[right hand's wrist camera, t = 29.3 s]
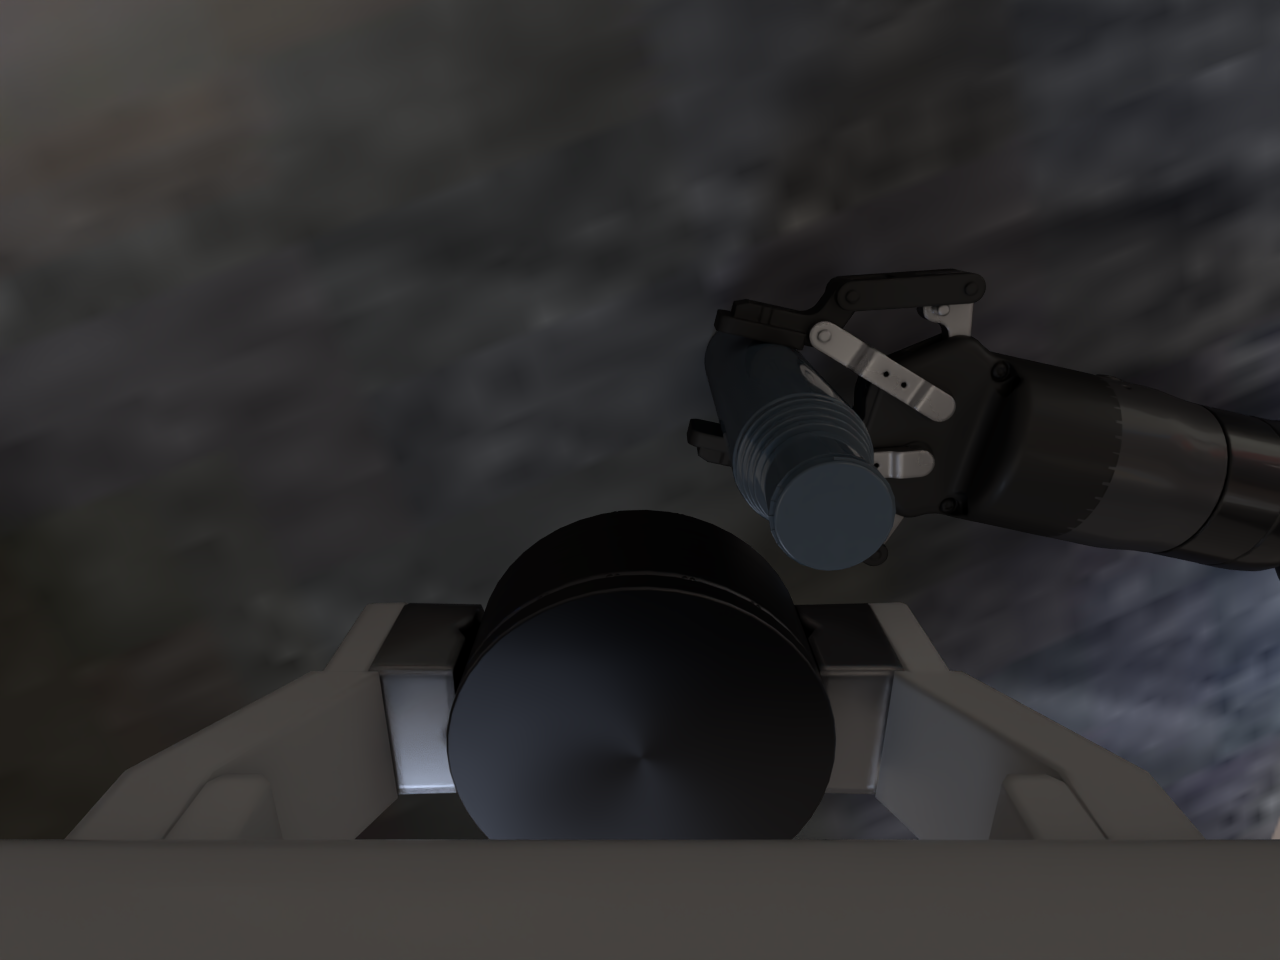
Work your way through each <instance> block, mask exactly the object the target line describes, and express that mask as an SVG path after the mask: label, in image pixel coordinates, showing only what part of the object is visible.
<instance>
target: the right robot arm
mask: <svg viewBox="0 0 1280 960" xmlns="http://www.w3.org/2000/svg"><path fill="white" fill-rule="evenodd" d="M794 606H795V609H796V611H797V614H798V617H799V619H800V622H801V624H802V627H803V630H804V632H805V635H806V638H807V640H808V644H809V646H810V649H811V652H812V654H813V657H814V660H815V662H816V665H817V668H818V671H819V673H820V676H821V678H822V681H823V684H824V686H825V689H826V692H827V694H828V697H829V700H830V704H831V708H832V712H833V715H834V719H835V731H836V749H835V761H834V765H833V769H832V773H831V777H830V781H829V783H828V786H827V788H826V791H825V793H851V794H876V798H877V799H878V800H879V801H880V802H881V803H882V804H883V805H884V806H885V807H886V808H887V809H888V810H889V811H890V812H891V813H892V814H893V815H895V816H896V817H897V818H898V819H899V820H900V821H901V822H902V823H903V824H904V825H905V826H906V827H907V828H908V829H909V830H910V831H911V832H912V833H913V834H914V835H915V836H916V837H917V838H918V839H919V840H354V839H355V838H356V837H357V836H358V835H359V834H360V833H361V832H362V831H363V830H364V829H365V828H367V827H368V826H369V825H370V824H371V823H372V822H373V821H374V820H375V819H376V818H377V817H378V816H379V815H380V814H381V813H382V812H383V811H384V810H385V809H387V808H388V807H389V806H390V805H391V804H392V803H393V802H394V801H395V800H396V799H397V798H398V796H397V794H421V793H457V792H456V789H455V786H454V783H453V780H452V777H451V774H450V770H449V764H448V757H447V751H446V749H447V725H448V720H449V714H450V709H451V706H452V703H453V701H454V698H455V695H456V692H457V689H458V686H459V683H460V681H461V678H462V675H463V672H464V669H465V666H466V663H467V661H468V658H469V655H470V652H471V649H472V646H473V643H474V641H475V638H476V635H477V632H478V629H479V626H480V623H481V621H482V618H483V615H484V610H483V607H482V605H481V604H436V603H409V604H407V603H406V602H399V603H372V604H368V605H367V606H366V607H365V608H364V609H363V611H362V612H361V614H360V615H359V617H358V618H357V620H356V622H355V623H354V625H353V626H352V628H351V629H350V631H349V632H348V634H347V635H346V637H345V638H344V640H343V641H342V643H341V644H340V646H339V647H338V649H337V650H336V652H335V654H334V655H333V657H332V658H331V660H330V661H329V663H328V664H327V666H326V667H325V669H324V670H323V671H311V672H309V673H307V674H305V675H304V676H302V677H300V678H298V679H296V680H294V681H292V682H290V683H289V684H287V685H285V686H283V687H281V688H279V689H277V690H275V691H274V692H272V693H270V694H268V695H266V696H264V697H262V698H260V699H259V700H257V701H255V702H253V703H251V704H249V705H247V706H246V707H244V708H242V709H240V710H238V711H236V712H234V713H232V714H231V715H229V716H227V717H225V718H223V719H221V720H219V721H217V722H216V723H214V724H212V725H210V726H208V727H206V728H204V729H202V730H201V731H199V732H197V733H195V734H193V735H191V736H189V737H187V738H186V739H184V740H182V741H180V742H178V743H176V744H174V745H172V746H171V747H169V748H167V749H165V750H163V751H161V752H159V753H157V754H156V755H154V756H152V757H150V758H148V759H146V760H144V761H142V762H141V763H139V764H137V765H135V766H133V767H131V768H129V769H127V770H126V771H124V772H123V774H122V775H121V776H120V777H119V778H118V779H117V780H116V782H115V783H114V784H113V785H112V786H111V787H110V788H109V789H108V791H107V792H106V793H105V794H104V795H103V796H102V797H101V799H100V800H99V801H98V802H97V803H96V804H95V805H94V806H93V808H92V809H91V810H90V811H89V812H88V813H87V814H86V816H85V817H84V818H83V819H82V820H81V821H80V822H79V824H78V825H77V826H76V827H75V828H74V829H73V830H72V831H71V833H70V834H69V835H68V836H67V837H66V838H65V839H64V840H0V960H1280V839H1217V840H1206V839H1205V838H1204V837H1203V836H1202V834H1201V833H1200V832H1199V831H1198V830H1197V829H1196V827H1195V826H1194V825H1193V824H1192V823H1191V822H1190V821H1189V819H1188V818H1187V817H1186V816H1185V815H1184V814H1183V812H1182V811H1181V810H1180V809H1179V808H1178V807H1177V805H1176V804H1175V803H1174V802H1173V801H1172V800H1171V798H1170V797H1169V796H1168V795H1167V794H1166V793H1165V791H1164V790H1163V789H1162V788H1161V787H1160V786H1159V784H1158V783H1157V782H1156V781H1155V780H1154V779H1153V777H1152V776H1151V775H1150V774H1149V773H1148V772H1147V771H1145V770H1143V769H1141V768H1139V767H1138V766H1136V765H1134V764H1132V763H1130V762H1128V761H1126V760H1125V759H1123V758H1121V757H1119V756H1117V755H1115V754H1114V753H1112V752H1110V751H1108V750H1106V749H1104V748H1102V747H1101V746H1099V745H1097V744H1095V743H1093V742H1091V741H1089V740H1088V739H1086V738H1084V737H1082V736H1080V735H1078V734H1077V733H1075V732H1073V731H1071V730H1069V729H1067V728H1065V727H1064V726H1062V725H1060V724H1058V723H1056V722H1054V721H1052V720H1051V719H1049V718H1047V717H1045V716H1043V715H1041V714H1040V713H1038V712H1036V711H1034V710H1032V709H1030V708H1028V707H1027V706H1025V705H1023V704H1021V703H1019V702H1017V701H1015V700H1014V699H1012V698H1010V697H1008V696H1006V695H1004V694H1003V693H1001V692H999V691H997V690H995V689H993V688H991V687H990V686H988V685H986V684H984V683H982V682H980V681H978V680H977V679H975V678H973V677H971V676H969V675H967V674H966V673H964V672H962V671H950V670H949V669H948V667H947V666H946V664H945V663H944V661H943V660H942V658H941V657H940V655H939V654H938V652H937V650H936V649H935V647H934V646H933V644H932V643H931V641H930V640H929V638H928V637H927V635H926V634H925V632H924V630H923V629H922V627H921V626H920V624H919V623H918V621H917V620H916V618H915V617H914V615H913V614H912V612H911V610H910V609H909V607H908V606H907V605H906V604H904V603H902V602H892V603H861V604H820V605H794Z"/></svg>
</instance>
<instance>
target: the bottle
mask: <svg viewBox="0 0 1280 960" xmlns="http://www.w3.org/2000/svg"><path fill="white" fill-rule="evenodd" d="M705 371H706V375H707V378H708V382H709V386H710V390H711V393H712V397H713V401H714V404H715V408H716V412H717V416H718V419H719V423H720V427H721V430H722V434H723V438H724V442H725V445H726V449H727V453H728V456H729V460H730V464H731V468H732V471H733V475H734V479H735V482H736V484H737V487H738V489H739V491H740V493H741V494H742V496H743V497H744V499H745V500H746V501H747V503H748V504H749V505H750V507H751V508H752V509H753V510H754V511H755V512H756V513H758V514H759V515H760V516H762V517H763V518H765V519H767V520H769V524H770V530H771V532H772V534H773V536H774V539H775V541H776V543H777V545H778V546H779V547H780V548H781V549H782V550H783V551H784V552H785V554H786V555H787V556H789V557H790V558H792V559H793V560H795V561H796V562H798V563H799V564H802V565H805V566H808V567H810V568H814V569H819V570H841V569H845V568H849V567H852V566H855V565H857V564H859V563H861V562H863V561H864V560H866V559H868V558H869V557H870V556H871V555H873V554H874V553H875V552H876V551H877V550H878V549H879V548H880V546H881V545H882V544H883V543H884V542H885V541H886V539H887V537H888V535H889V533H890V531H891V529H892V527H893V524H894V519H895V513H896V507H895V497H894V494H893V492H892V489H891V487H890V484H889V483H888V481H887V480H886V479H885V478H884V477H883V475H882V474H881V473H880V472H879V470H878V469H877V468H876V467H875V466H874V450H873V444H872V441H871V438H870V436H869V433H868V430H867V428H866V426H865V424H864V423H863V421H862V420H861V418H860V417H859V416H858V415H857V413H856V412H855V411H854V410H853V409H852V408H851V407H850V406H849V405H848V404H847V403H846V402H845V401H844V400H843V399H842V397H841V396H840V395H839V394H838V393H837V392H836V391H835V390H834V389H833V388H832V387H831V386H830V385H829V384H828V383H827V382H826V380H825V379H824V378H823V377H822V376H821V375H820V374H819V373H818V372H817V371H816V370H815V369H814V368H813V367H812V366H811V365H810V363H809V362H808V361H807V360H806V359H805V358H804V357H803V356H802V355H801V354H800V353H799V352H798V351H797V350H796V349H794V348H790V347H786V346H782V345H777V344H772V343H767V342H763V341H758V340H754V339H749V338H745V337H740V336H736V335H731V334H727V333H723V332H720V331H717V332H716V333H715V334H714V336H713V337H712V339H711V340H710V342H709V344H708V346H707V349H706V353H705Z"/></svg>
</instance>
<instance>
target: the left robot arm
mask: <svg viewBox="0 0 1280 960" xmlns="http://www.w3.org/2000/svg"><path fill="white" fill-rule="evenodd" d="M985 289H986V283H985V281H984V279H983V277H981V276H980V275H978V274H975V273H970V272H965V271H961V270H956V269H939V270H924V271H910V272H895V273H880V274H865V275H850V276H838V277H835V278H833V279H831V280H830V281H829V282H828V284H827V286H826V290H825V293H824V294H823V296H822V297H821V298H820V300H819V301H818V303H817V304H816V305H815V306H814V307H812V308H811V309H809V310H806V311H797V310H793V309H788V308H784V307H779V306H775V305H771V304H766V303H762V302H757V301H753V300H748V299H743V300H737V301H734V302H733V306H732V310H731V311H727V310H721V309H718V311H717V315H716V319H715V323H714V326H715V329H716V330H717V331H720V332H723V333H727V334H731V335H736V336H740V337H745V338H749V339H754V340H758V341H763V342H767V343H772V344H777V345H782V346H786V347H790V348H794V349H799V350H802V349H803V346H804V345H807V346H811V347H815V348H816V349H818V350H819V351H821V352H823V353H824V354H826V355H828V356H829V357H831V358H833V359H834V360H836V361H838V362H839V363H841V364H842V365H844V366H846V367H847V368H849V369H850V370H852V371H853V372H855V373H856V374H858V375H859V376H858V379H857V383H856V386H855V392H854V406H853V408H852V409H853V410H854V411H855V412H856V413H857V415H858V416H859V417H860V418H861V420H862V421H863V423H864V424H865V426H866V428H867V430H868V433H869V436H870V438H871V441H872V444H873V450H874V466H875V467H876V468H877V469H878V470H879V472H880V473H881V474H882V475H883V477H884V478H885V479H886V480H887V481H888V483H889V484H890V487H891V489H892V492H893V494H894V497H895V507H896V513H895V519H894V524H893V527H892V529H891V531H890V533H889V535H888V537H887V539H886V541H885V542H884V543H883V544H882V545H881V546H880V548H879V549H878V550H877V551H876V552H875V553H874V554H873V555H871V556H870V557H869V558H868V559H866V560H864V561H863V562H864V563H865V564H867V565H870V566H877V565H880V564H882V563H883V562H884V561H885V560H886V559H887V556H888V550H887V548H886V546H885V543H886V542H887V540H888V539H889V537H890V536H891V535H892V533H893V532H894V530H895V529H896V528H897V526H898V525H899V523H900V522H901V521H902V519H903V518H904V517H916V516H920V515H923V514H929V513H939V514H944V515H948V516H952V517H956V518H960V519H965V520H970V521H974V522H979V523H984V524H989V525H994V526H998V527H1003V528H1008V529H1012V530H1017V531H1021V532H1026V533H1031V534H1036V535H1040V536H1045V537H1050V538H1054V539H1059V540H1064V541H1069V542H1074V543H1078V544H1083V545H1088V546H1093V547H1099V548H1108V549H1120V550H1135V551H1141V552H1149V553H1153V554H1158V555H1163V556H1167V557H1172V558H1177V559H1182V560H1186V561H1191V562H1196V563H1199V564H1204V565H1208V566H1213V567H1218V568H1223V569H1229V570H1239V571H1261V570H1266V569H1271V568H1275V570H1276V573H1277V576H1278V578H1279V580H1280V420H1267V419H1262V418H1258V417H1254V416H1248V415H1244V414H1239V413H1235V412H1230V411H1226V410H1221V409H1217V408H1212V407H1208V406H1203V405H1199V404H1195V403H1192V402H1188V401H1185V400H1182V399H1179V398H1176V397H1174V396H1171V395H1169V394H1167V393H1164V392H1161V391H1158V390H1156V389H1153V388H1149V387H1145V386H1141V385H1137V384H1132V383H1128V382H1124V381H1122V380H1120V379H1117V378H1116V377H1113V376H1108V375H1093V374H1088V373H1084V372H1079V371H1075V370H1070V369H1066V368H1061V367H1057V366H1052V365H1048V364H1043V363H1039V362H1034V361H1030V360H1025V359H1021V358H1016V357H1012V356H1007V355H1003V354H999V353H994V352H991V351H989V350H987V349H986V348H985V347H984V346H983V345H982V344H981V343H980V342H979V341H978V340H976V339H975V338H973V337H971V325H972V313H973V303H975V302H977V301H978V300H980V299H981V298H982V296H983V295H984V293H985ZM912 307H917V312H918V314H919V315H920V316H921V317H922V318H924V319H926V320H929V321H931V322H936V323H938V324H939V325H940V327H941V330H942V333H941V334H938V335H936V336H934V337H931V338H929V339H926V340H924V341H921V342H919V343H917V344H914V345H912V346H909V347H907V348H904V349H902V350H900V351H897V352H895V353H892V354H890V355H885V354H883V353H882V352H880V351H878V350H877V349H875V348H873V347H872V346H870V345H869V344H867V343H865V342H864V341H862V340H860V339H859V338H857V337H855V336H854V335H852V334H850V333H849V332H847V331H845V330H844V329H843V327H844V326H845V325H846V323H847V322H848V320H849V319H850V318H851V316H852V315H853V313H854V312H855V311H866V310H881V309H896V308H912ZM687 440H688V443H689V444H691V445H693V446H696V447H697V451H698V456H700V457H701V458H703V459H704V460H706V461H707V462H711V463H716V464H721V465H725V466H730V467H731V464H730V460H729V456H728V453H727V449H726V445H725V442H724V438H723V434H722V430H721V427H720V424H719V423H714V422H709V421H705V420H700V419H691V420H690V423H689V427H688V431H687Z"/></svg>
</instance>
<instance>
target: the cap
mask: <svg viewBox="0 0 1280 960" xmlns="http://www.w3.org/2000/svg"><path fill="white" fill-rule="evenodd" d="M835 749H836V731H835V719H834V715H833V712H832V708H831V704H830V700H829V697H828V694H827V692H826V689H825V686H824V684H823V681H822V678H821V676H820V673H819V671H818V668H817V665H816V662H815V660H814V657H813V654H812V652H811V649H810V646H809V644H808V640H807V638H806V635H805V632H804V630H803V627H802V624H801V622H800V619H799V617H798V614H797V611H796V609H795V606H794V604H793V601H792V599H791V597H790V594H789V592H788V590H787V588H786V587H785V585H784V584H783V582H782V580H781V579H780V577H779V576H778V574H777V573H776V572H775V570H774V569H773V568H772V567H771V566H770V565H769V563H768V562H767V561H766V560H765V559H764V558H763V557H762V556H761V555H760V554H759V553H757V552H756V551H755V550H754V549H753V548H752V547H751V546H749V545H748V544H747V543H745V542H744V541H742V540H741V539H739V538H738V537H736V536H735V535H733V534H731V533H729V532H727V531H725V530H723V529H721V528H719V527H717V526H715V525H713V524H711V523H708V522H705V521H702V520H699V519H696V518H693V517H690V516H686V515H683V514H678V513H671V512H664V511H653V510H627V511H618V512H616V511H614V512H611V513H605V514H600V515H596V516H593V517H589V518H585V519H582V520H579V521H576V522H574V523H572V524H569V525H567V526H564V527H562V528H560V529H558V530H556V531H554V532H553V533H551V534H549V535H547V536H546V537H544V538H542V539H540V540H539V541H538V542H536V543H535V544H534V545H533V546H531V547H530V548H529V549H527V550H526V551H525V552H524V553H523V554H522V555H521V556H520V557H519V558H518V559H517V560H516V561H515V562H514V563H513V564H512V565H511V566H510V567H509V568H508V569H507V571H506V572H505V574H504V575H503V576H502V578H501V579H500V580H499V582H498V583H497V585H496V587H495V589H494V591H493V593H492V595H491V596H490V598H489V601H488V603H487V606H486V609H485V612H484V615H483V618H482V621H481V623H480V626H479V629H478V632H477V635H476V638H475V641H474V643H473V646H472V649H471V652H470V655H469V658H468V661H467V663H466V666H465V669H464V672H463V675H462V678H461V681H460V683H459V686H458V689H457V692H456V695H455V698H454V701H453V703H452V706H451V709H450V714H449V720H448V725H447V749H446V751H447V757H448V764H449V770H450V774H451V777H452V780H453V783H454V786H455V789H456V792H457V794H458V796H459V798H460V800H461V802H462V804H463V806H464V808H465V810H466V811H467V813H468V814H469V815H470V817H471V818H472V820H473V821H474V823H475V824H476V825H477V827H478V828H479V829H480V830H481V831H482V832H483V833H484V834H485V835H486V837H487V838H488V839H489V840H792V839H793V838H794V837H795V836H796V835H797V834H798V833H799V832H800V830H801V829H802V828H803V827H804V825H805V824H806V823H807V822H808V821H809V819H810V818H811V817H812V815H813V813H814V812H815V810H816V808H817V807H818V805H819V803H820V802H821V800H822V798H823V795H824V793H825V791H826V788H827V786H828V783H829V781H830V777H831V773H832V769H833V765H834V761H835Z"/></svg>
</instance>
